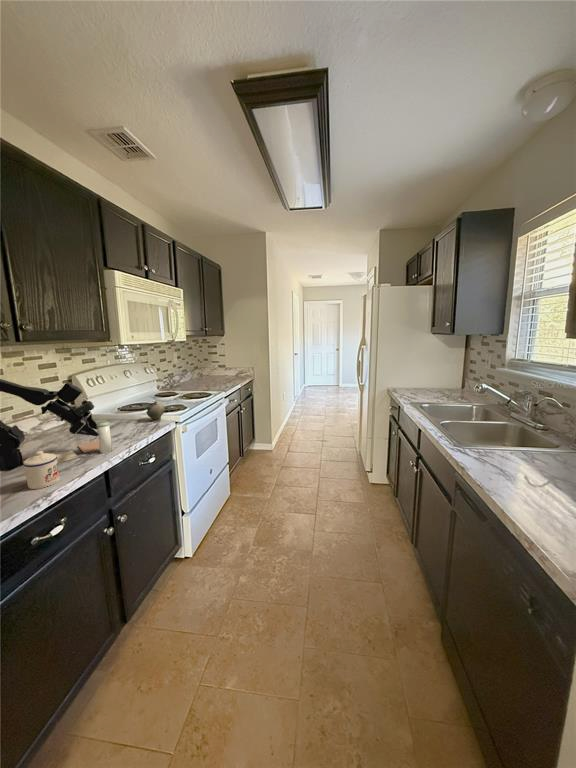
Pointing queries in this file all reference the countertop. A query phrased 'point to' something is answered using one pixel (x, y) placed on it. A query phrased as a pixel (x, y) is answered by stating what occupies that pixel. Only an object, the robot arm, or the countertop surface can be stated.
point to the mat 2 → (89, 446)
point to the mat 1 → (66, 456)
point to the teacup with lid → (41, 470)
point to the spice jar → (104, 437)
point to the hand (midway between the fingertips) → (99, 432)
